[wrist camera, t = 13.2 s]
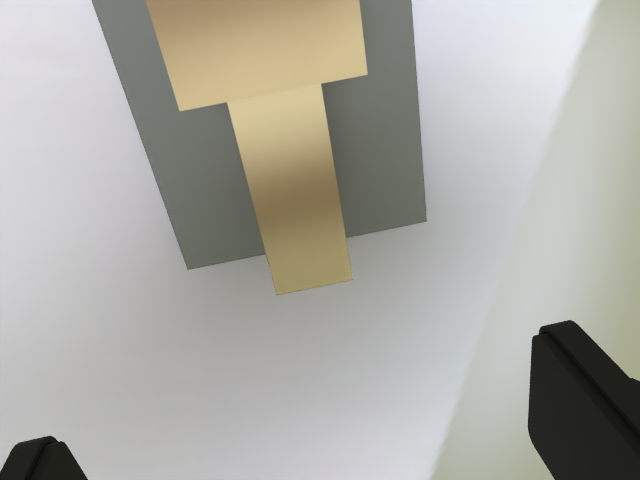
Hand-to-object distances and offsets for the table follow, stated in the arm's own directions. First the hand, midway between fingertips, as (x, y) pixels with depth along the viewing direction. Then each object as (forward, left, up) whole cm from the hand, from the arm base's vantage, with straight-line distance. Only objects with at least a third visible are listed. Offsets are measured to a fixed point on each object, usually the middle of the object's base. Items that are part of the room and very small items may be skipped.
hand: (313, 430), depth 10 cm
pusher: (+5, 0, -16) cm, 17 cm away
